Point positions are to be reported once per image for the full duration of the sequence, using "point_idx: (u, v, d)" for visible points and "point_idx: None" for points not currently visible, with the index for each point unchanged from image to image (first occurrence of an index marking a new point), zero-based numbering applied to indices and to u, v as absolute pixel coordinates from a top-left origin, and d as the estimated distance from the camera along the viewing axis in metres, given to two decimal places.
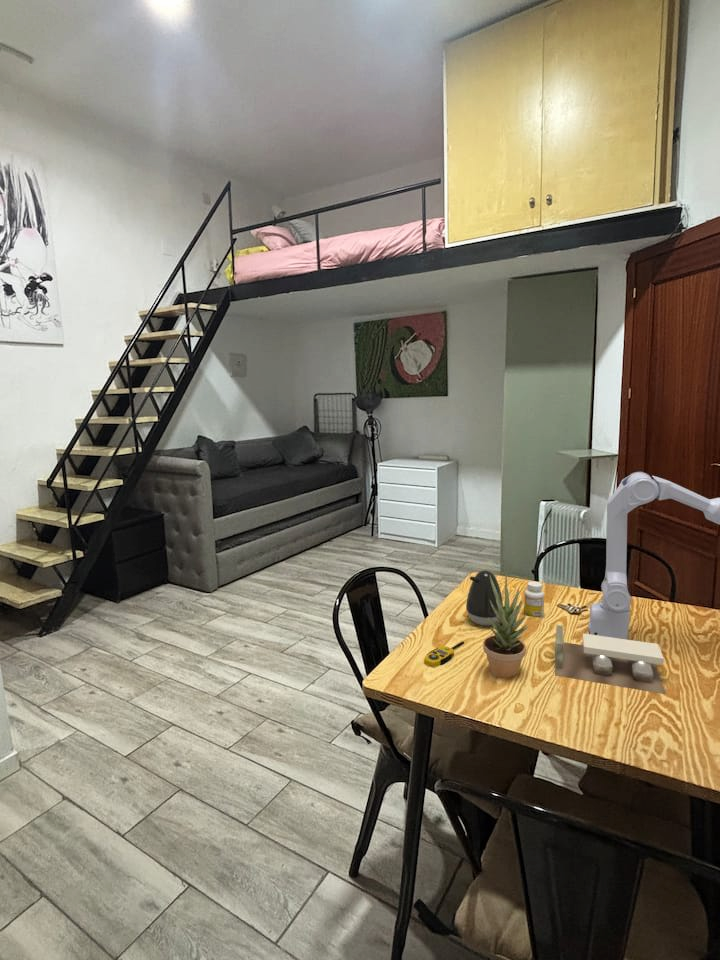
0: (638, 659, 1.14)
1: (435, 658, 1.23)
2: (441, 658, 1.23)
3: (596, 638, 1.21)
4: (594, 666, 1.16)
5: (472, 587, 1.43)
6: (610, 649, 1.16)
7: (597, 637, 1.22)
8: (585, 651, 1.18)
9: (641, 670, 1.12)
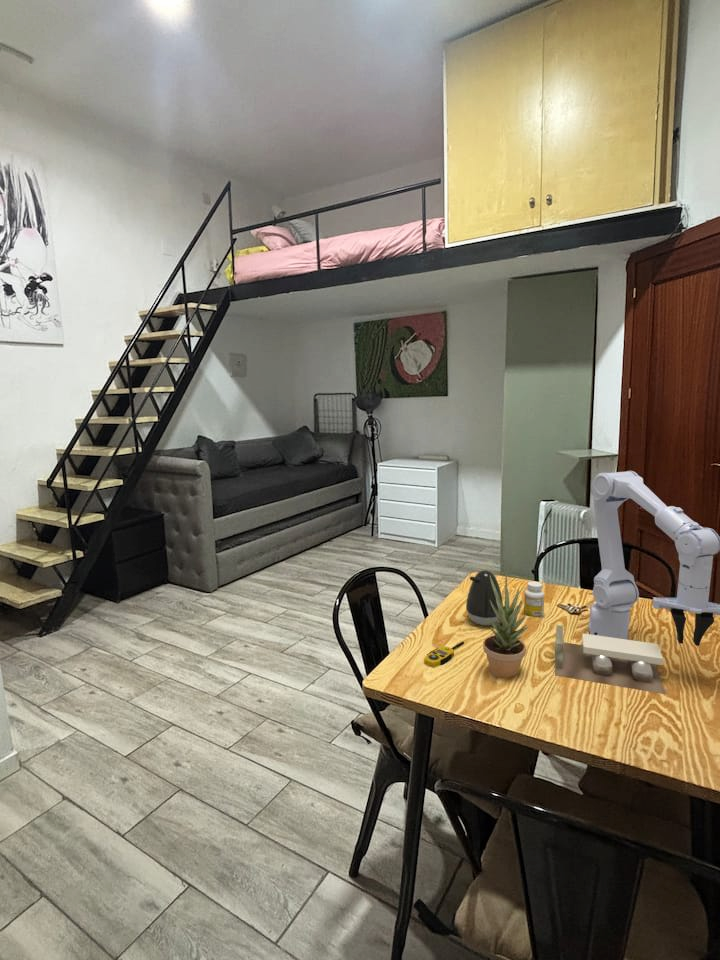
0: (638, 659, 1.14)
1: (435, 658, 1.23)
2: (441, 658, 1.23)
3: (596, 638, 1.21)
4: (594, 666, 1.16)
5: (472, 587, 1.43)
6: (610, 649, 1.16)
7: (596, 637, 1.22)
8: (585, 651, 1.18)
9: (641, 670, 1.12)
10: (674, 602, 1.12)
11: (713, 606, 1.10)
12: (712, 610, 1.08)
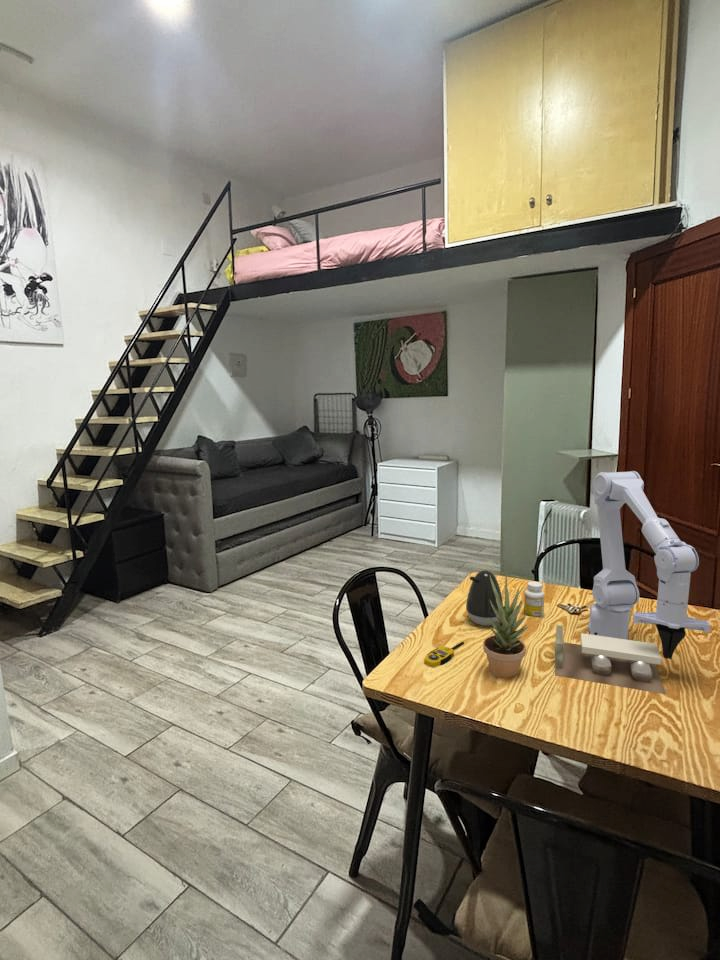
0: (636, 659, 1.14)
1: (435, 659, 1.23)
2: (441, 658, 1.23)
3: (595, 638, 1.21)
4: (593, 667, 1.16)
5: (472, 587, 1.43)
6: (608, 649, 1.16)
7: (595, 637, 1.22)
8: (583, 651, 1.18)
9: (640, 670, 1.12)
10: (653, 617, 1.14)
11: (691, 621, 1.12)
12: (690, 625, 1.10)
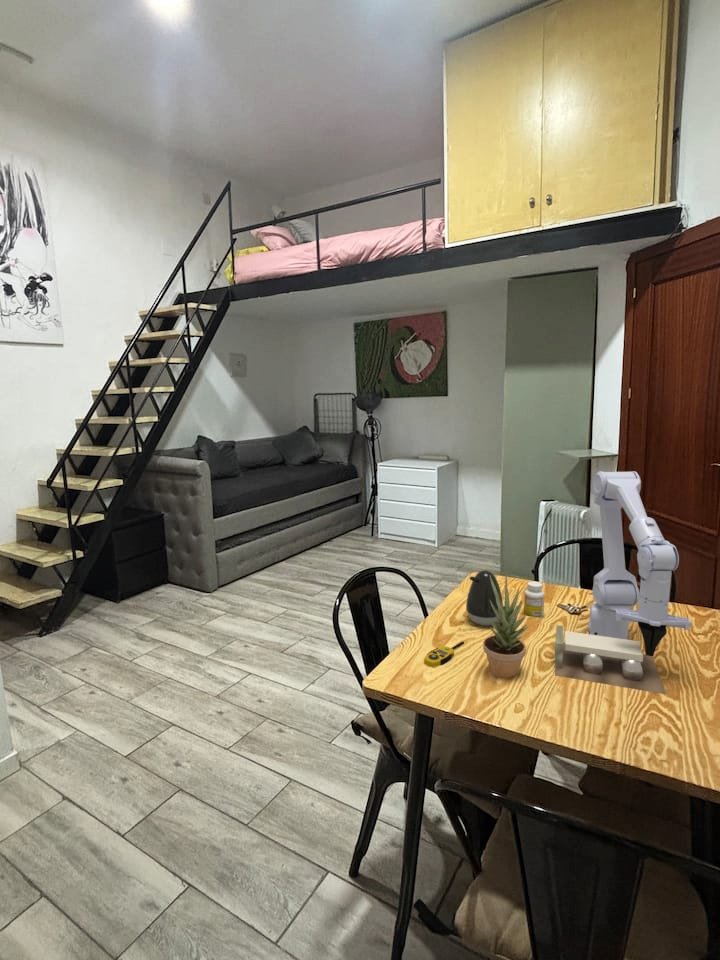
0: (618, 656, 1.15)
1: (435, 658, 1.23)
2: (441, 658, 1.23)
3: (578, 636, 1.23)
4: (589, 671, 1.16)
5: (472, 587, 1.43)
6: (591, 646, 1.17)
7: (578, 634, 1.23)
8: (566, 648, 1.19)
9: (629, 671, 1.13)
10: (635, 614, 1.15)
11: (672, 619, 1.13)
12: (671, 623, 1.11)
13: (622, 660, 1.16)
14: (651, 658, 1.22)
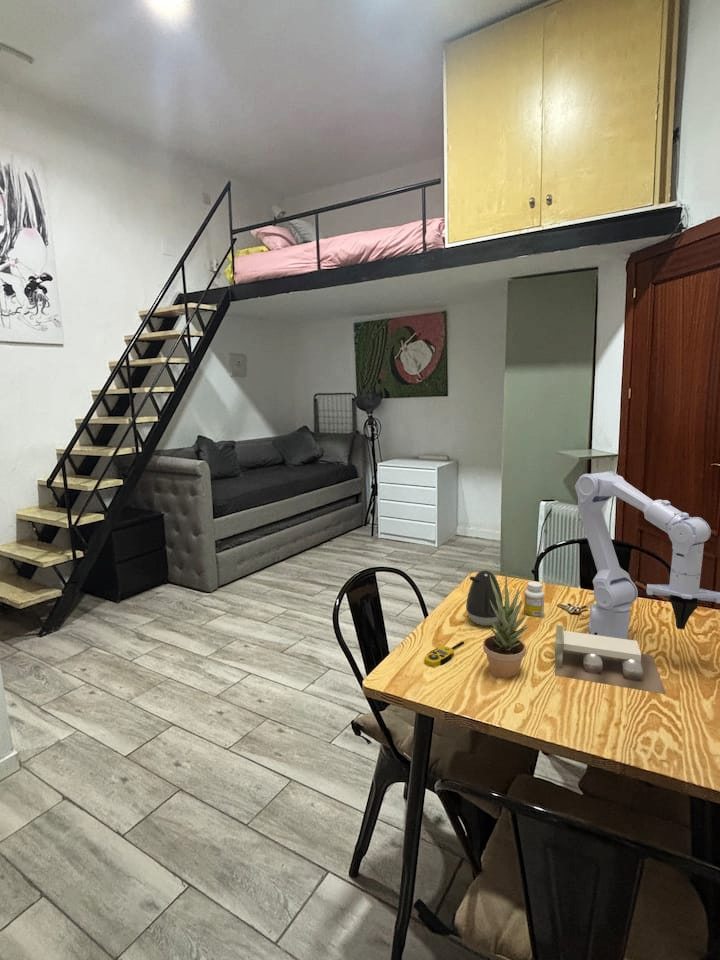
0: (616, 656, 1.15)
1: (435, 658, 1.23)
2: (441, 658, 1.23)
3: (577, 635, 1.23)
4: (589, 671, 1.17)
5: (472, 587, 1.43)
6: (589, 646, 1.18)
7: (577, 634, 1.24)
8: (565, 648, 1.19)
9: (629, 670, 1.13)
10: (667, 588, 1.17)
11: (704, 592, 1.15)
12: (703, 596, 1.13)
13: (622, 660, 1.16)
14: (651, 658, 1.22)
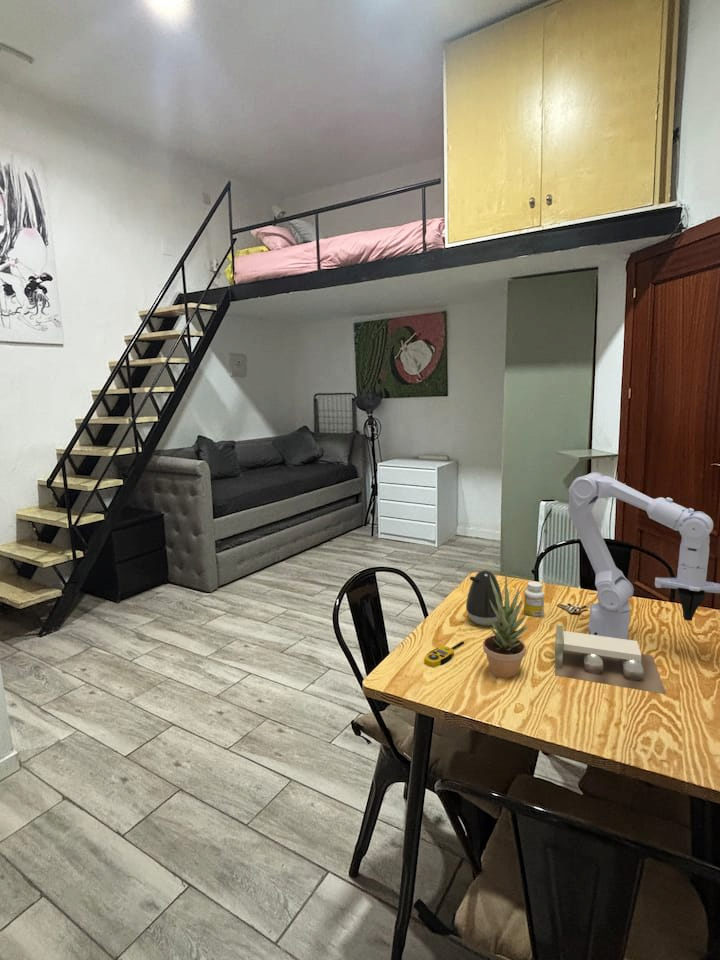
0: (616, 656, 1.15)
1: (435, 658, 1.23)
2: (441, 658, 1.23)
3: (577, 636, 1.23)
4: (589, 671, 1.17)
5: (472, 587, 1.43)
6: (589, 646, 1.18)
7: (577, 634, 1.23)
8: (565, 648, 1.19)
9: (630, 670, 1.13)
10: (674, 581, 1.21)
11: (710, 585, 1.19)
12: (709, 588, 1.17)
13: (623, 659, 1.16)
14: (651, 658, 1.22)
